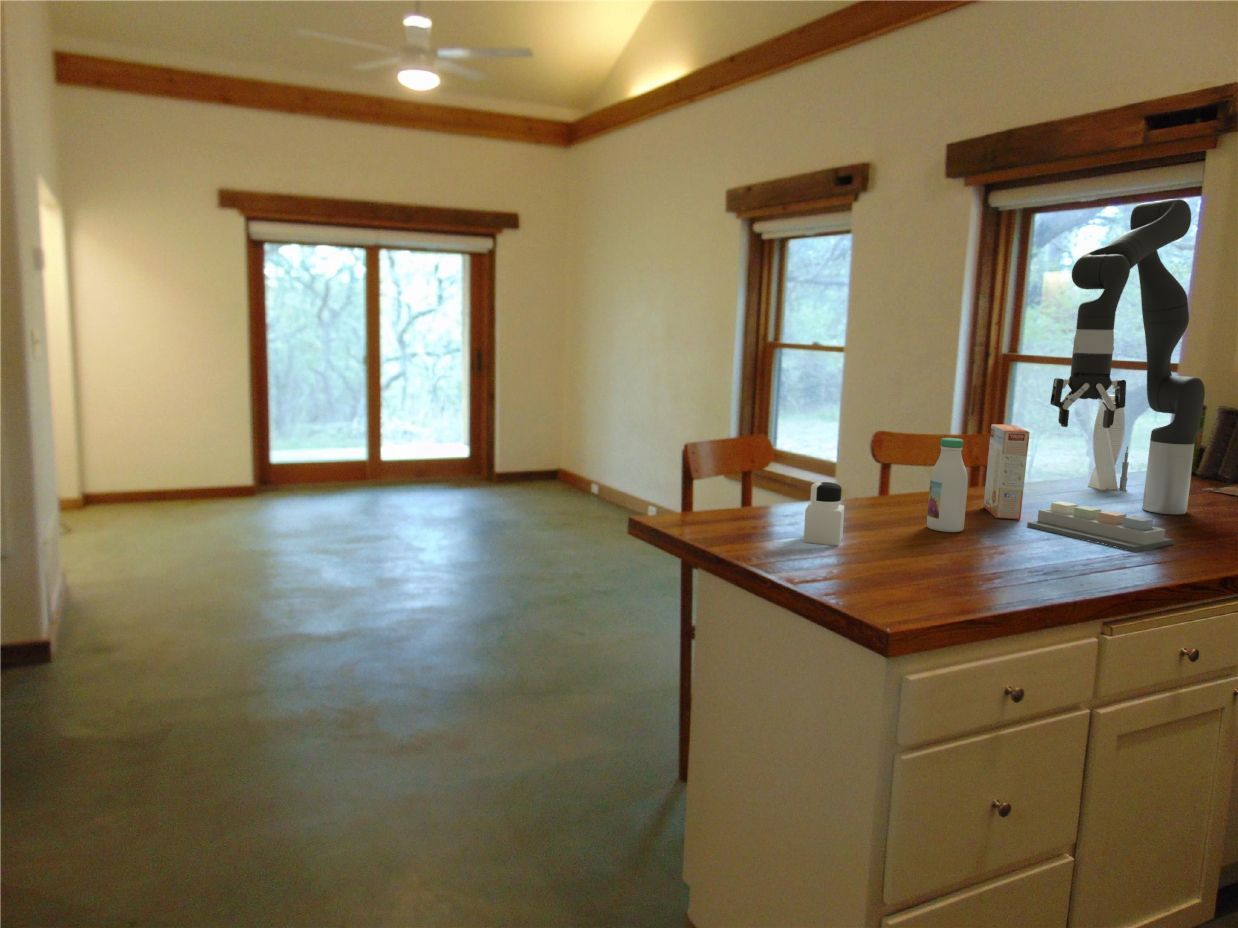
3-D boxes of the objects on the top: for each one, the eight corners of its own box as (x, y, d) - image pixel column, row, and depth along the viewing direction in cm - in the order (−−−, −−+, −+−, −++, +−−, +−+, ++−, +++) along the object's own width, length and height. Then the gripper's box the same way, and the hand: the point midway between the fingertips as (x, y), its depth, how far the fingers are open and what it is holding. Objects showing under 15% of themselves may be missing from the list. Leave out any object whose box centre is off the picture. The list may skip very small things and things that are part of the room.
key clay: (1107, 523, 191) (1109, 510, 190) (1125, 526, 187) (1126, 514, 187) (1097, 525, 189) (1098, 512, 188) (1114, 528, 185) (1116, 515, 185)
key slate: (1133, 528, 186) (1134, 515, 185) (1151, 532, 183) (1152, 519, 182) (1122, 530, 184) (1124, 517, 184) (1140, 534, 181) (1142, 521, 180)
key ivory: (1060, 513, 200) (1061, 501, 199) (1076, 516, 197) (1077, 504, 196) (1050, 514, 198) (1051, 502, 198) (1065, 518, 195) (1067, 505, 194)
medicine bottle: (842, 538, 184) (846, 481, 182) (839, 546, 177) (842, 487, 175) (807, 535, 186) (810, 479, 184) (803, 542, 179) (806, 484, 177)
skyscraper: (1101, 492, 242) (1112, 390, 237) (1080, 487, 250) (1090, 388, 245) (1127, 492, 243) (1139, 391, 239) (1106, 486, 251) (1117, 388, 247)
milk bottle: (964, 527, 196) (972, 438, 192) (962, 534, 189) (970, 442, 186) (928, 523, 199) (935, 435, 196) (924, 530, 192) (931, 439, 189)
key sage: (1083, 518, 195) (1084, 505, 195) (1100, 521, 192) (1101, 509, 192) (1073, 519, 193) (1074, 507, 193) (1089, 523, 190) (1091, 510, 190)
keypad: (1065, 520, 204) (1067, 505, 204) (1172, 544, 184) (1174, 527, 183) (1027, 526, 198) (1028, 511, 197) (1134, 551, 177) (1136, 534, 176)
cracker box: (1022, 520, 204) (1030, 430, 200) (994, 519, 205) (1002, 429, 201) (1008, 508, 217) (1016, 424, 214) (982, 506, 218) (990, 423, 215)
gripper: (1121, 351, 190) (1113, 426, 192) (1051, 350, 191) (1044, 424, 194) (1136, 352, 182) (1127, 430, 185) (1063, 351, 184) (1056, 428, 187)
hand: (1084, 427), depth 190 cm, fingers open, 8 cm apart
